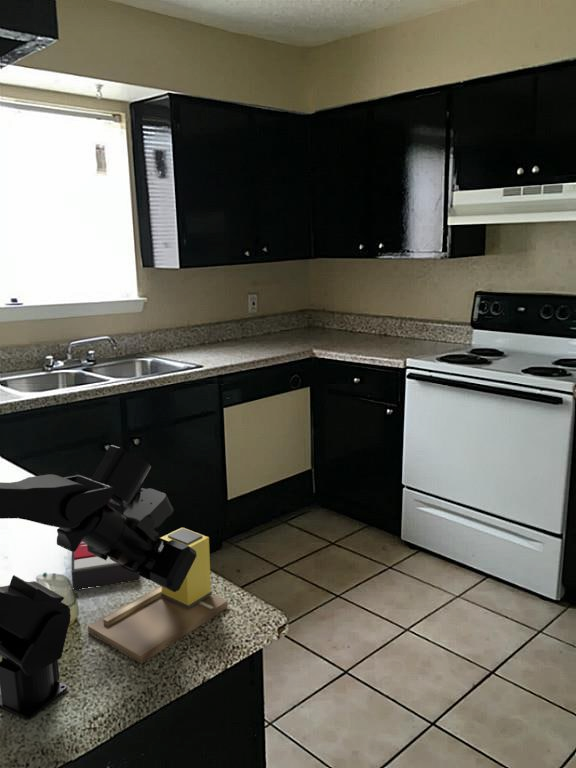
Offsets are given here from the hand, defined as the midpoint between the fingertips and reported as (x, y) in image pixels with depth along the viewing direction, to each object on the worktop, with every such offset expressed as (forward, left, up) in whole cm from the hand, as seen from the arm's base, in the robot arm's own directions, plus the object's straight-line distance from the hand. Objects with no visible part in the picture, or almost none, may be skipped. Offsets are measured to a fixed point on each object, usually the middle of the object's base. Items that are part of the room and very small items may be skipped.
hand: (171, 571), depth 102 cm
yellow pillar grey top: (+3, 0, -5) cm, 6 cm away
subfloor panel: (-3, 0, -7) cm, 8 cm away
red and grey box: (+7, +20, -8) cm, 23 cm away
